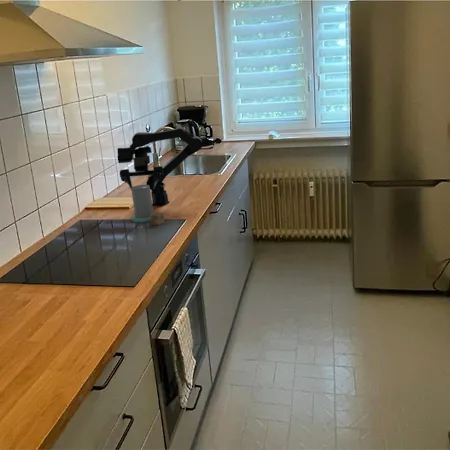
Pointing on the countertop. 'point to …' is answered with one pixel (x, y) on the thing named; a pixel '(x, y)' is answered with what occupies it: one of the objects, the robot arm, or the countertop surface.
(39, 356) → the countertop surface
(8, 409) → the countertop surface
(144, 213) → the grey faceted cylinder
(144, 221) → the dish
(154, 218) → the walnut block
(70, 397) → the countertop surface
